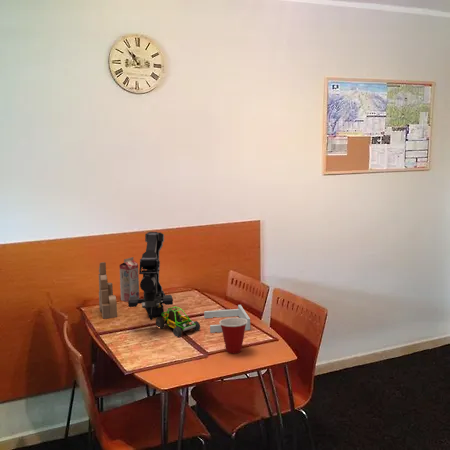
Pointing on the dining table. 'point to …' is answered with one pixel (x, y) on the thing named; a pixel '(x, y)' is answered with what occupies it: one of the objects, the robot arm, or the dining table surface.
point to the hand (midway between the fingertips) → (151, 320)
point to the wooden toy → (106, 295)
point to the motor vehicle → (176, 321)
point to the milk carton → (129, 279)
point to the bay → (227, 313)
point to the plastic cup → (233, 333)
